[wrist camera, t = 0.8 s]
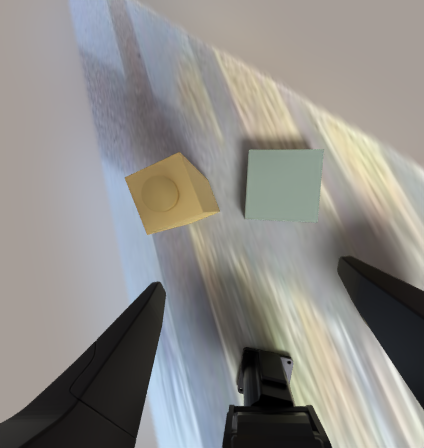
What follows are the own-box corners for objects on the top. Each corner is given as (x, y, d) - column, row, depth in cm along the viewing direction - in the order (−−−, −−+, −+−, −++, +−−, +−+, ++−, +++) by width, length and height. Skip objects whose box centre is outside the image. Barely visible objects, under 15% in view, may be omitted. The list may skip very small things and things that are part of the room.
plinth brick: (309, 221, 23) (317, 222, 21) (244, 218, 24) (245, 219, 22) (314, 156, 23) (323, 149, 20) (247, 156, 24) (249, 149, 21)
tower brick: (220, 211, 25) (200, 212, 12) (189, 223, 25) (141, 236, 13) (207, 180, 25) (175, 147, 12) (177, 193, 25) (117, 175, 13)
